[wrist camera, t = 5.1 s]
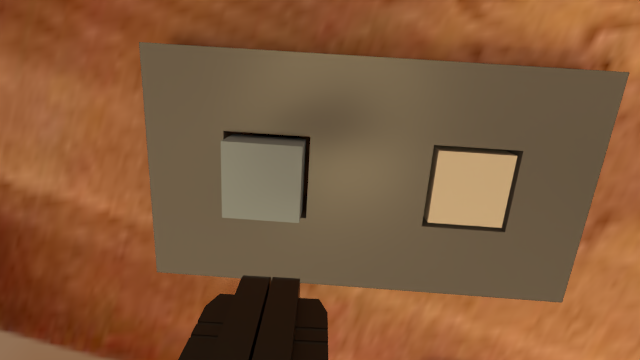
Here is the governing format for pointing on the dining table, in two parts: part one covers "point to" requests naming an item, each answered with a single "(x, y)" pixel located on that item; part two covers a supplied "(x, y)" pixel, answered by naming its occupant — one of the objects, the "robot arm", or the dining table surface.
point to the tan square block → (469, 186)
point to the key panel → (375, 166)
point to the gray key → (262, 177)
